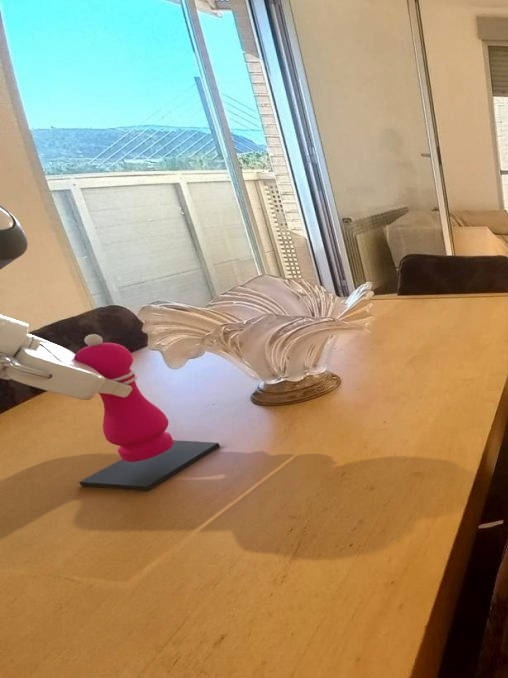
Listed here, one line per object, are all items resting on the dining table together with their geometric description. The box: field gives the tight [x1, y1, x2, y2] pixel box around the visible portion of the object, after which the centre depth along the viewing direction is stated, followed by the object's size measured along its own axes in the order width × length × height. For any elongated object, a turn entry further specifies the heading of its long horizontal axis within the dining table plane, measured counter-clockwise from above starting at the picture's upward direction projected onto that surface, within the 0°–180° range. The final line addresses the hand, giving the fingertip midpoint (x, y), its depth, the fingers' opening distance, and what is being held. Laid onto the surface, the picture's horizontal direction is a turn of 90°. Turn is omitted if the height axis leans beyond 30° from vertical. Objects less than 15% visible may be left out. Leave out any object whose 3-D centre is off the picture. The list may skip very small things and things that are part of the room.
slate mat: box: [78, 439, 221, 492], centre depth 77 cm, size 12×12×1 cm
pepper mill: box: [74, 333, 174, 462], centre depth 72 cm, size 7×7×20 cm
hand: (122, 386), depth 72 cm, fingers closed on pepper mill, 5 cm apart
